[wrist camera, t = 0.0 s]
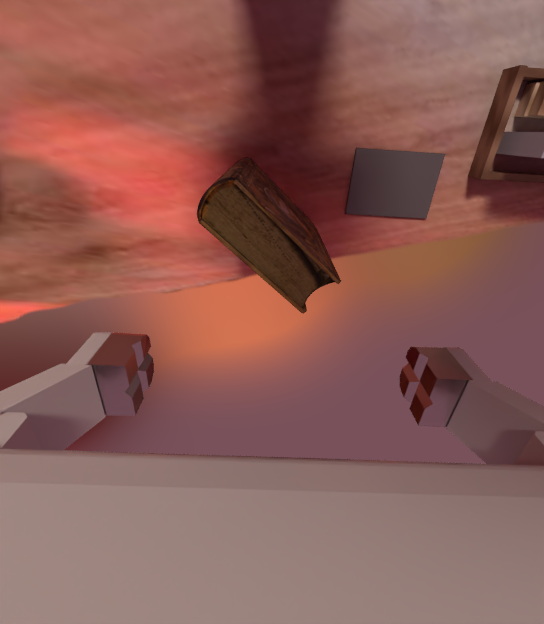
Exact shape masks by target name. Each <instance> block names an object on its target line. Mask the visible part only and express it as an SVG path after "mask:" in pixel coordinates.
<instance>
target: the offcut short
mask: <svg viewBox="0 0 544 624" xmlns="http://www.w3.org/2000/svg"><path fill="white" fill-rule="evenodd" d="M527 116H537V117H544V81H543V82H540V85H539V88H538V90H537V93H536V95H535V98H534V100H533V103H532V105H531V108H530V110H529V113H528V115H527Z"/></svg>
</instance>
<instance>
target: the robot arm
mask: <svg viewBox="0 0 544 624" xmlns="http://www.w3.org/2000/svg"><path fill="white" fill-rule="evenodd" d="M150 347H151V344H150V339H149V337H148V336H147V335H145V334H129V333H112V332H95V333H93V334H92V336H91V337H90V338H89V339H88V340H87V341H86V342H85V343H84V344H83V346H82V347H81V348H80V349H79V350H78V351H77V352H76V354H75V355H74V356H73V357H72V358H71V359H70V361H69V362H68V363H67V364H59V365H57V366H55V367H53V368H51V369H48V370H46V371H44V372H42V373H40V374H37V375H35V376H33V377H31V378H29V379H27V380H24V381H22V382H20V383H18V384H16V385H13V386H11V387H9V388H7V389H5V390H3V391H0V624H544V406H542V405H540V404H538V403H537V402H534V401H533V400H531V399H529V398H527V397H525V396H523V395H521V394H519V393H518V392H516V391H514V390H512V389H510V388H508V387H506V386H504V385H502V384H500V383H499V382H494V381H493V382H492V381H491V380H490V379H489V378H488V377H487V375H485V373H484V372H483V371H482V370H481V369H480V368H479V367H478V365H477V364H476V363H475V362H474V361H473V360H472V359H471V358H470V357H469V355H468V354H467V353H466V352H465V351H464V350H463V349H461V348H458V347H457V348H456V347H452V348H451V347H443V348H438V347H410V349H409V350H408V352H407V355H406V359H407V361H408V364H407V365H406V366H404V367H403V368H402V370H401V374H400V389H401V392H402V394H403V397H404V398H405V399H407V400H408V401H409V402H411V406H410V410H411V412H412V414H413V416H414V418H415V420H416V422H417V424H418V425H419V426H433V427H447V428H446V429H447V430H448V431H450V432H451V433H452V434H453V435H454V436H455V437H456V438H458V439H459V440H460V441H461V442H462V443H463V444H465V445H466V446H467V447H468V448H469V449H470V450H471V451H473V452H474V453H475V454H476V455H477V456H478V457H479V458H481V459H482V460H483V461H484V462H485V463H486V464H472V463H439V462H408V461H380V460H350V459H319V458H317V459H316V458H284V457H252V456H220V455H189V454H158V453H157V454H155V453H126V452H92V451H63V450H64V449H66V448H67V447H68V446H69V445H71V444H72V443H73V442H74V441H76V440H77V439H78V438H80V437H81V436H82V435H83V434H84V433H86V432H87V431H88V430H90V429H91V428H92V427H93V426H95V425H96V424H97V423H98V422H100V421H101V420H102V419H103V418H105V415H136V414H137V411H138V409H139V407H140V405H141V403H142V401H143V399H144V397H143V391H145V390H146V389H148V388H149V386H150V384H151V382H152V377H153V373H154V363H153V358H152V357H151V356H150V355H149V354H148V351H149V349H150Z"/></svg>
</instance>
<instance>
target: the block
mask: <svg viewBox="0 0 544 624" xmlns="http://www.w3.org/2000/svg"><path fill="white" fill-rule="evenodd" d="M496 154H504V155H514V156H524V157H534V158H544V132H504V133H503V136H502V138H501V141H500V144H499V147H498V150H497V152H496Z"/></svg>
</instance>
